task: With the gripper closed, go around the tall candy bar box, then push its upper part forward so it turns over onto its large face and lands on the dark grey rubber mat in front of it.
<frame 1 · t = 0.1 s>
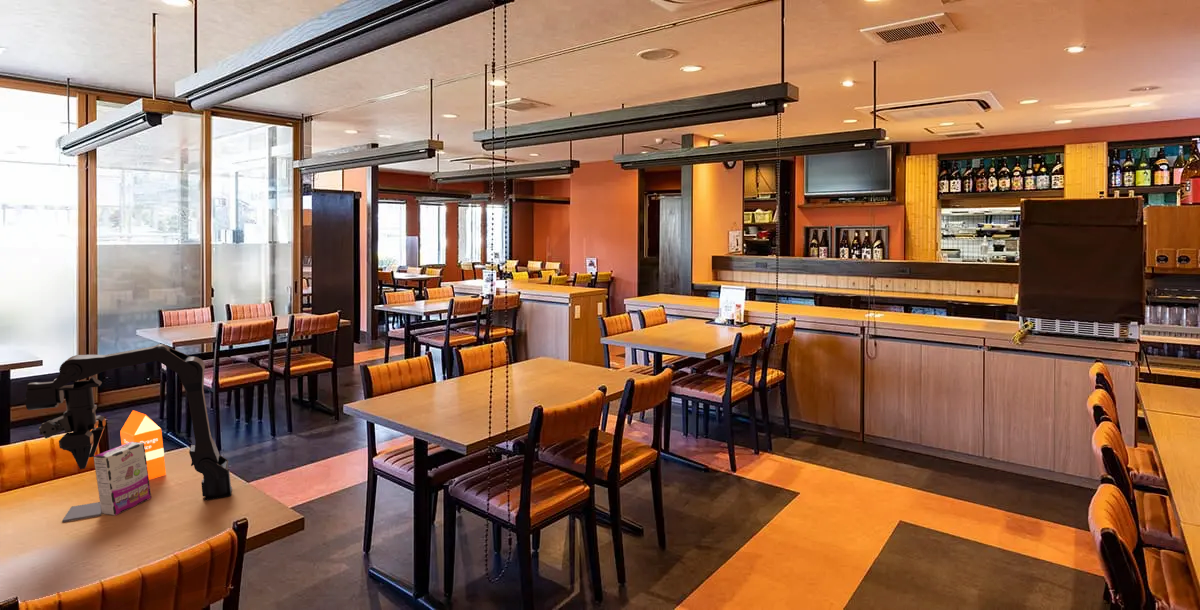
hand: (87, 462, 173), 15 cm above the table, fingers open, 9 cm apart
mat: (85, 512, 177), on the table
orange juice: (145, 476, 201), on the table
candy bar box: (126, 507, 180), on the table
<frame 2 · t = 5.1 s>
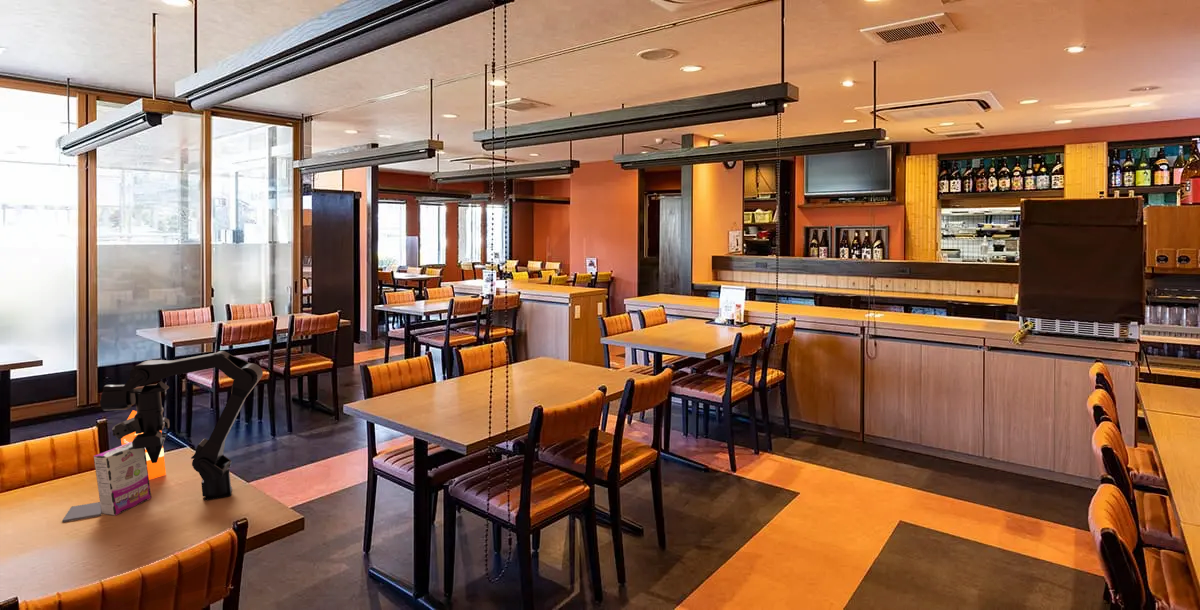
hand: (154, 462, 182), 11 cm above the table, fingers closed
candy bar box: (126, 507, 180), on the table, touching gripper
everything else where it was.
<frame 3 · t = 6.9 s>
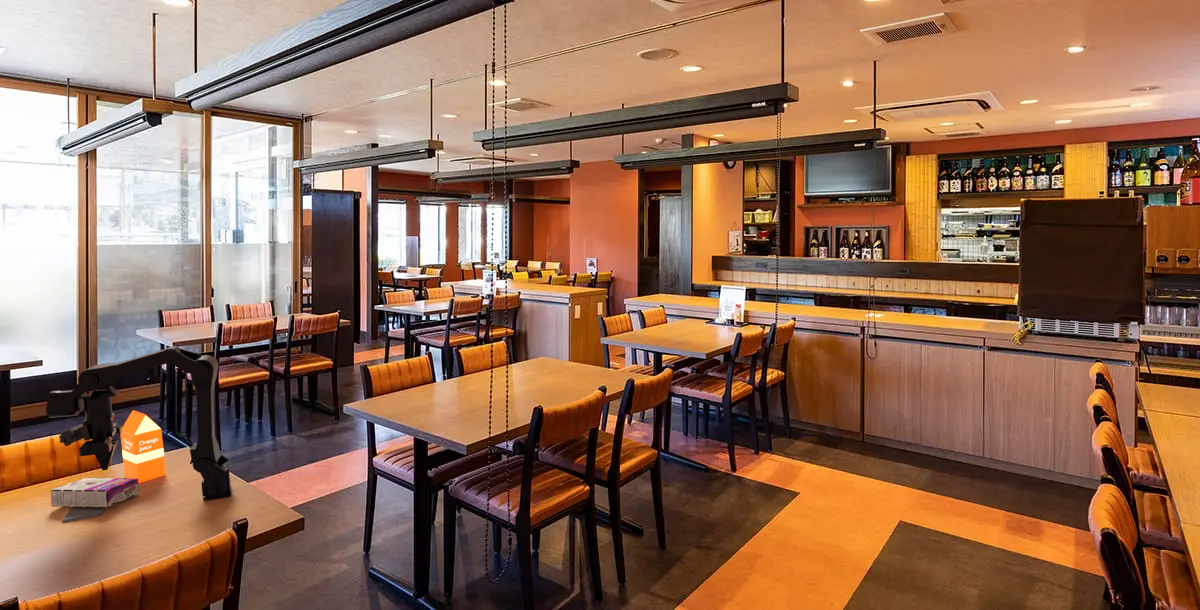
hand: (105, 469, 177), 11 cm above the table, fingers closed
candy bar box: (124, 493, 182), point 3 cm above the table, touching mat
everything else where it was.
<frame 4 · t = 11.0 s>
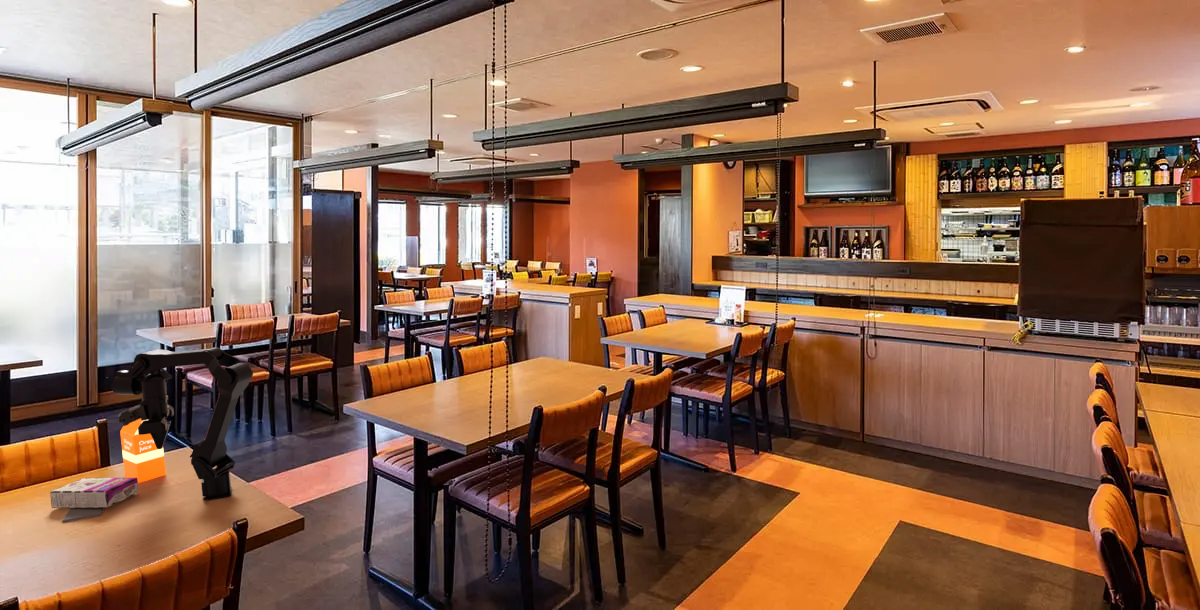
hand: (159, 448, 187), 13 cm above the table, fingers closed
nothing on the table moved.
at the end: candy bar box tilted 92°; candy bar box inside the target area (9.4 cm from its centre), point 3.2 cm above the table; candy bar box touching mat, table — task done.
